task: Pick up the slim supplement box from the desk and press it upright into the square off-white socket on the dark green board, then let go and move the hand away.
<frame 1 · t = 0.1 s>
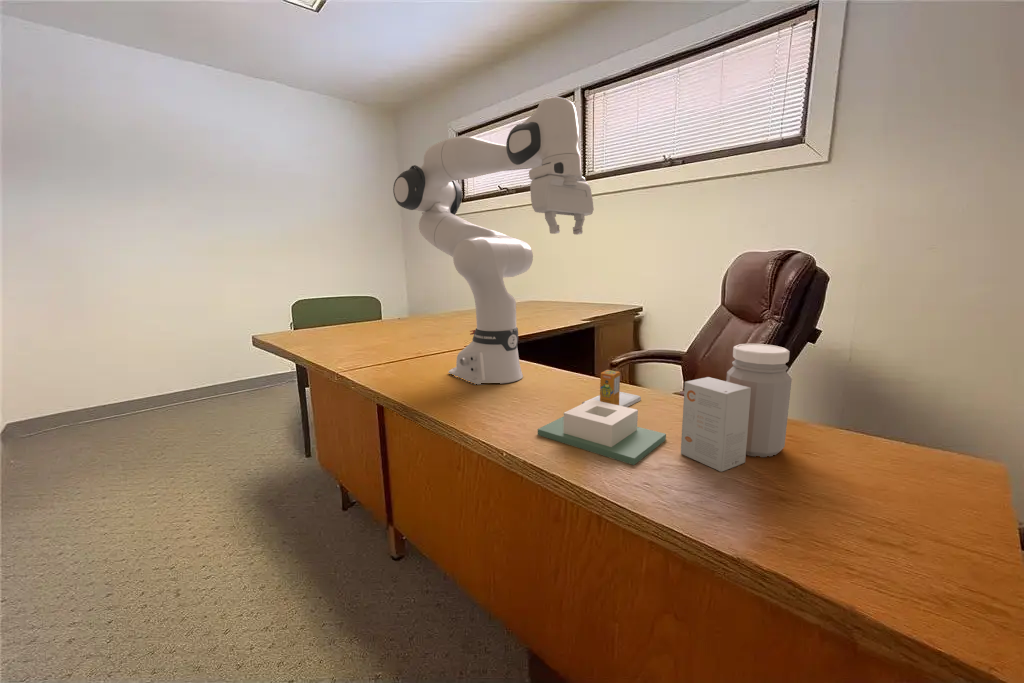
hand: (566, 233, 105), 39 cm above the table, tool pointing down, fingers open, 8 cm apart
hard drive: (611, 406, 104), on the table
small box: (711, 459, 75), on the table
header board: (600, 437, 85), on the table
supplement box: (608, 418, 95), on the table
jar: (751, 448, 79), on the table
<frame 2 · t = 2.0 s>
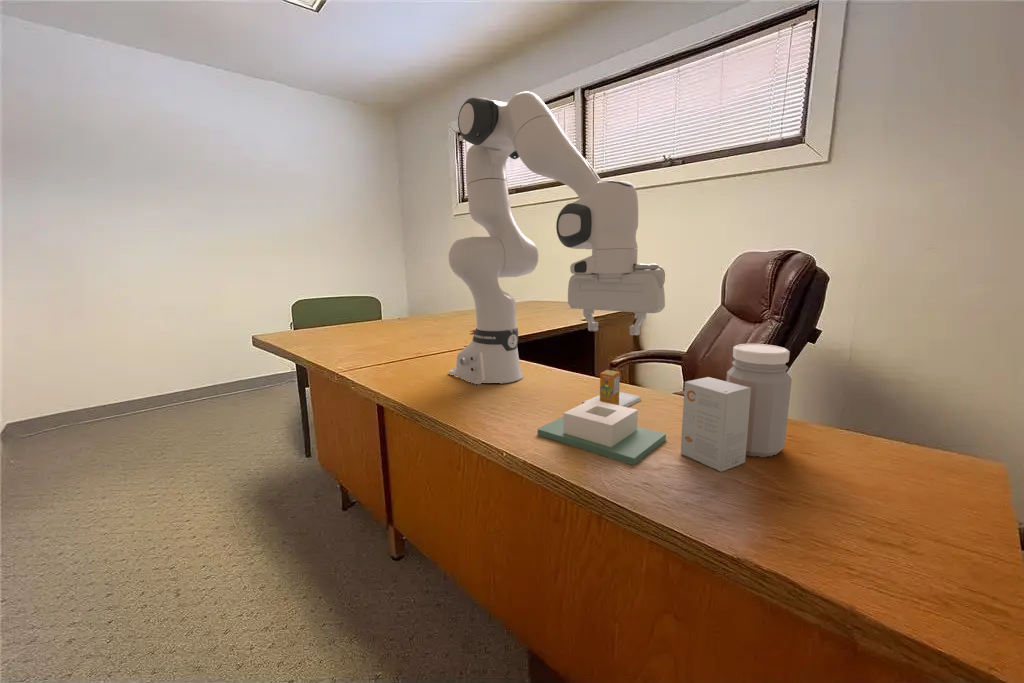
hand: (613, 332, 92), 18 cm above the table, tool pointing down, fingers open, 8 cm apart
nothing on the table moved.
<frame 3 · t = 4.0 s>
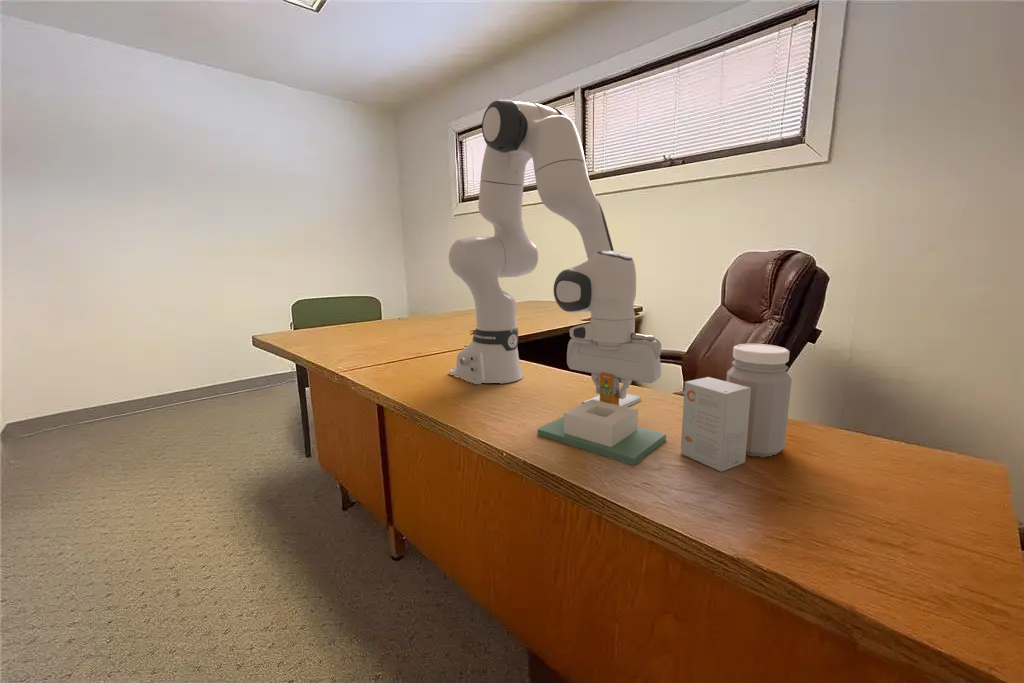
hand: (610, 395, 94), 5 cm above the table, tool pointing down, fingers closed on supplement box, 3 cm apart
supplement box: (608, 418, 95), on the table, touching gripper
everything else where it was.
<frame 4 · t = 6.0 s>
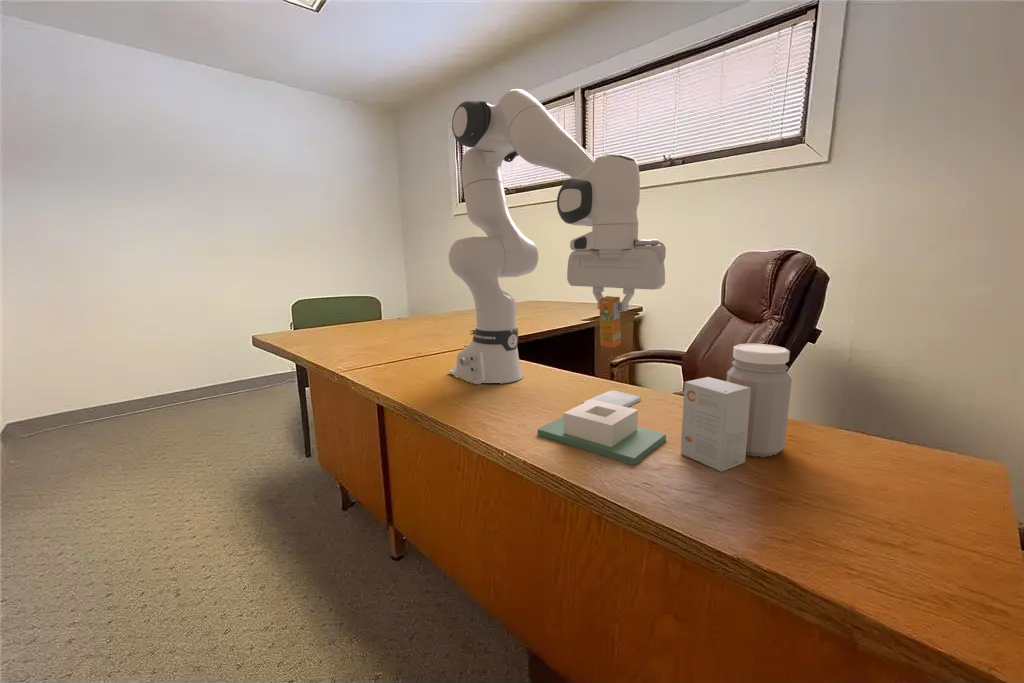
hand: (612, 310, 91), 23 cm above the table, tool pointing down, fingers closed on supplement box, 3 cm apart
supplement box: (610, 346, 92), point 15 cm above the table, touching gripper
everything else where it was.
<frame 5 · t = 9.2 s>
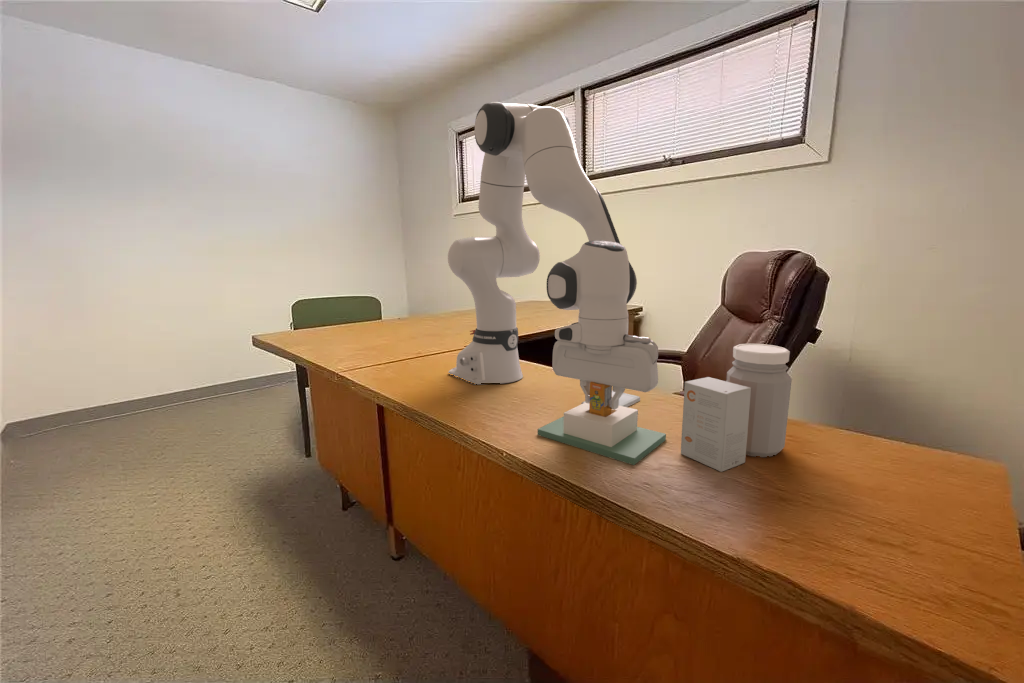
hand: (601, 405, 83), 6 cm above the table, tool pointing down, fingers closed on supplement box, 3 cm apart
supplement box: (599, 433, 84), point 1 cm above the table, touching gripper, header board
everything else where it was.
when the fingers open (6 cm above the table, at t = 9.4 s): supplement box stays where it is, resting on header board.
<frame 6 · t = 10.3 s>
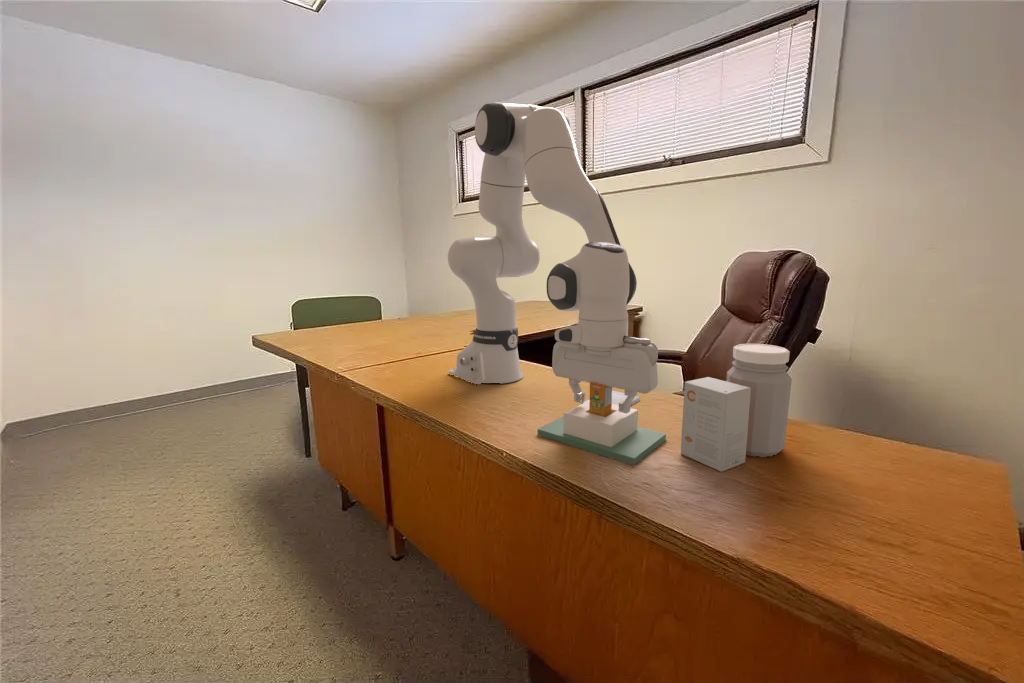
hand: (601, 406, 83), 6 cm above the table, tool pointing down, fingers open, 8 cm apart
supplement box: (599, 433, 84), point 1 cm above the table, touching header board
everything else where it was.
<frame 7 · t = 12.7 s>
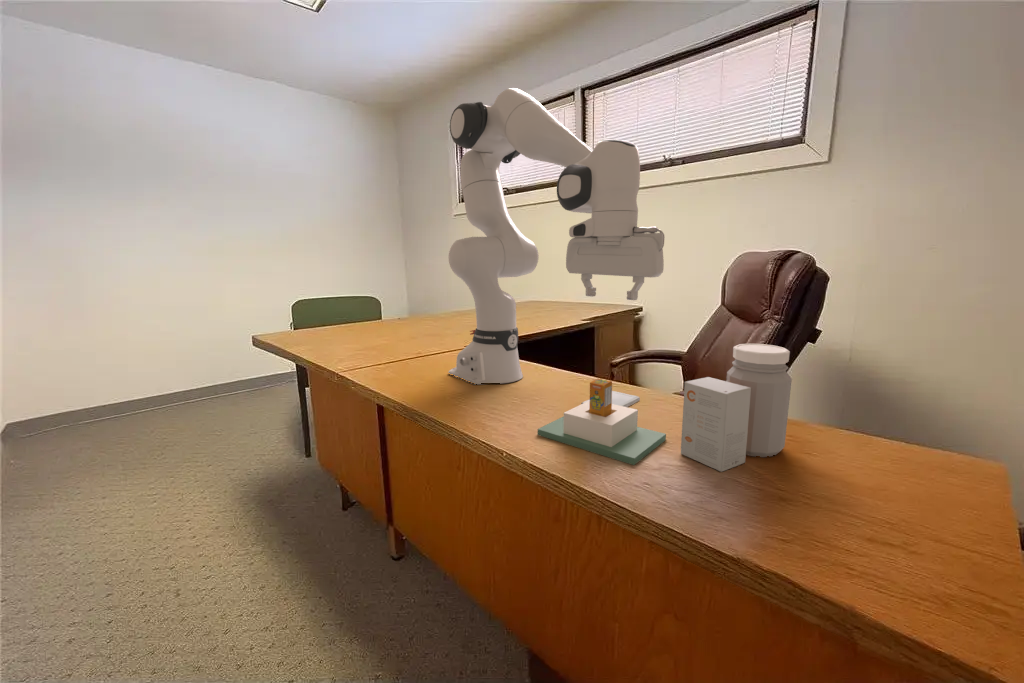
hand: (610, 298, 91), 25 cm above the table, tool pointing down, fingers open, 8 cm apart
nothing on the table moved.
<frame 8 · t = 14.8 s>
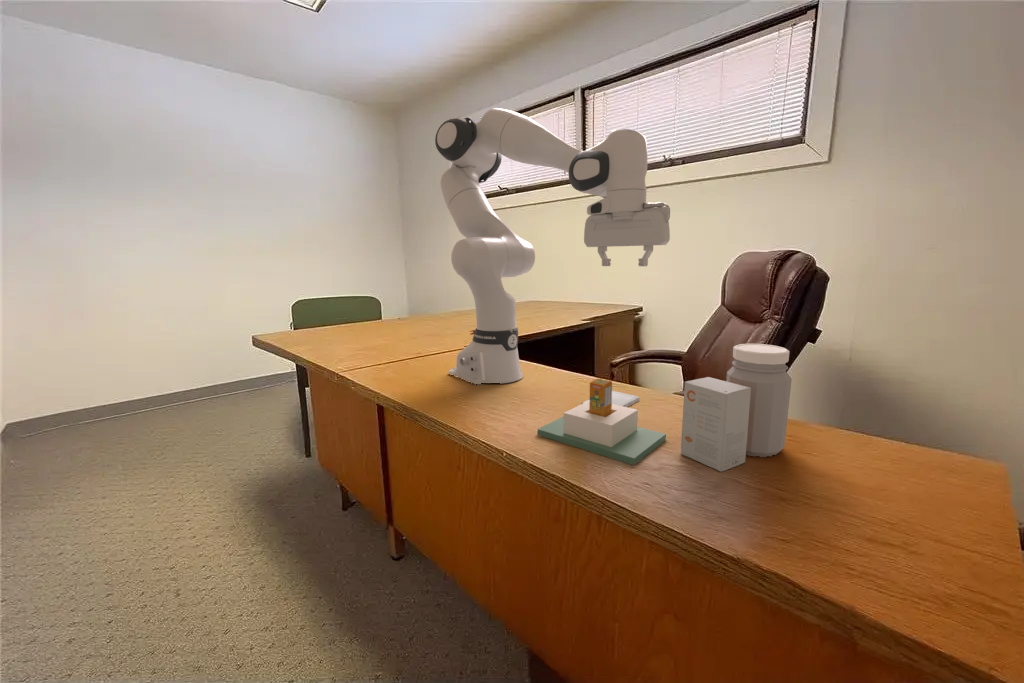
hand: (624, 266, 105), 31 cm above the table, tool pointing down, fingers open, 8 cm apart
nothing on the table moved.
at the end: supplement box 0.4 cm off-centre on the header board, point 1.0 cm above the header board's base; supplement box tilted 0°; the gripper is holding nothing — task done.
